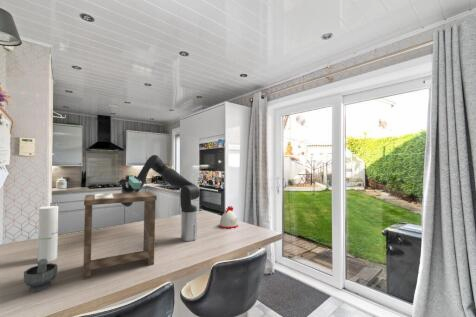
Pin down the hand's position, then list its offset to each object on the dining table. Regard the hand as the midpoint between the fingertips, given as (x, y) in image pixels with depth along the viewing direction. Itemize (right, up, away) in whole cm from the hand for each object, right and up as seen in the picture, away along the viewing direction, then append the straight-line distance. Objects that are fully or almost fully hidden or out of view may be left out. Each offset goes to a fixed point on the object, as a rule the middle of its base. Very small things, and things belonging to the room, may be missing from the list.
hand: (131, 177), depth 127 cm
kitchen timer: (+53, -41, +43) cm, 79 cm away
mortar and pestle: (-14, -38, -42) cm, 59 cm away
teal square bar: (+4, -4, -6) cm, 8 cm away
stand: (+5, -39, -23) cm, 45 cm away
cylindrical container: (-32, -38, -18) cm, 53 cm away
